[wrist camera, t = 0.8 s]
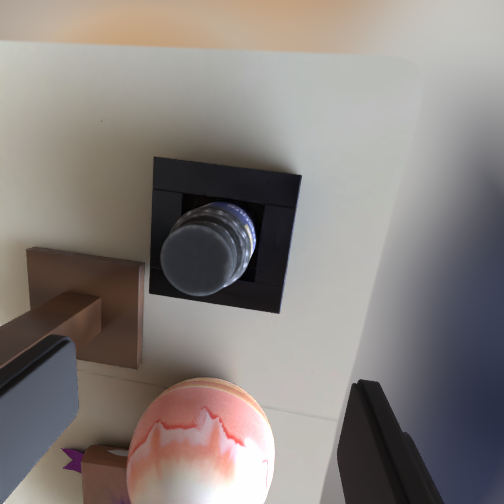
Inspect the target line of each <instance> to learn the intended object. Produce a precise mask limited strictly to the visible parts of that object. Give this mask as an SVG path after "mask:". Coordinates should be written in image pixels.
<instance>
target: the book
mask: <svg viewBox="0 0 504 504" xmlns="http://www.w3.org/2000/svg"><path fill="white" fill-rule="evenodd" d="M61 449H62V448H61ZM62 450H63V451H64V452H65V453H66V454H67V455H68V456H69V457H70V458H71V459H72V460H73V461H72V462H71V463H69V464H68V465H66V466H65V467H63V469H69V470H75V471H77V472H79V473H82V489H83V504H131V503H130V499H129V495H128V489H127V478H126V466H127V458H128V451H129V449H124V448H116V447H109V446H102V445H95V444H94V445H91V446H89V447H88V448H87V450H86V451H85V453H84V454H83V453H81V452H78V451H76V450H73V449H62Z"/></svg>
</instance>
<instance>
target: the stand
mask: <svg viewBox="0 0 504 504" xmlns="http://www.w3.org/2000/svg"><path fill="white" fill-rule="evenodd" d="M26 256H27V268H28V281H29V294H30V306H31V310H30V311H28V312H26V313H25V314H23V315H21V316H19V317H17V318H15V319H13V320H12V321H10V322H8V323H6V324H4V325H2V326H0V369H1V368H2V367H4V366H5V365H6V364H8V363H9V362H11V361H12V360H14V359H15V358H16V357H18V356H19V355H21V354H22V353H24V352H25V351H27V350H28V349H29V348H31V347H32V346H34V345H35V344H37V343H38V342H40V341H41V340H42V339H44V338H45V337H47V336H48V335H50V334H55V335H62V336H68V337H70V338H71V340H72V342H74V343H75V350H76V359H79V360H84V361H90V362H96V363H102V364H108V365H114V366H119V367H125V368H131V369H138V367H139V366H140V365H141V363H142V338H143V304H144V269H145V263H141V262H135V261H128V260H121V259H114V258H108V257H101V256H94V255H88V254H81V253H74V252H68V251H61V250H54V249H47V248H41V247H32V248H29V249H26Z"/></svg>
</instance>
